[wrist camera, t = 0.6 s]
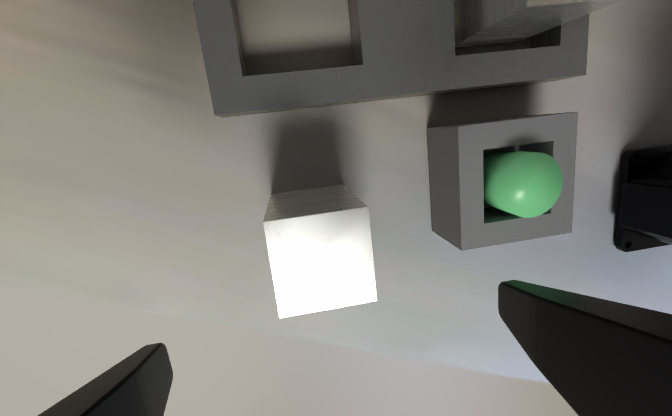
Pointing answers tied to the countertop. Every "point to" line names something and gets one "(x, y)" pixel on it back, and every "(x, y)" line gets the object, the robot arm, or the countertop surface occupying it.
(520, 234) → the grey hollow square block
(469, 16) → the block
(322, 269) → the block
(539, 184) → the button
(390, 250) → the countertop surface
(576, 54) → the rectangular frame
